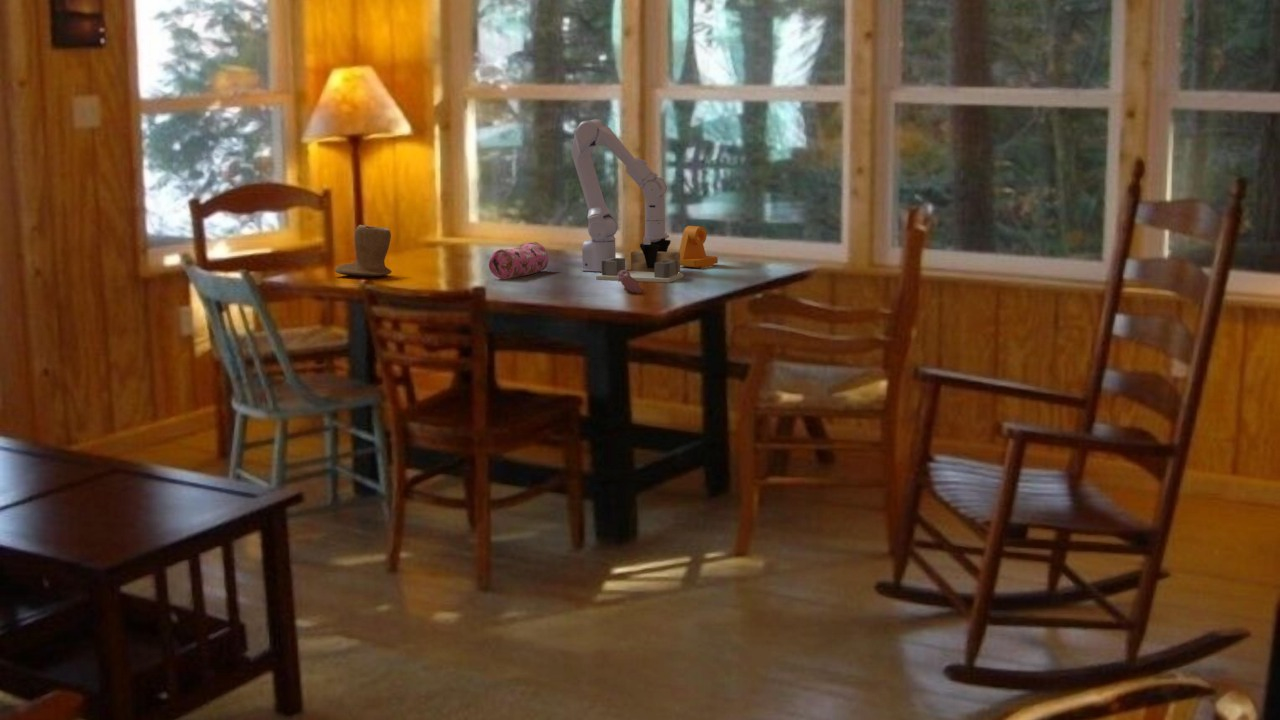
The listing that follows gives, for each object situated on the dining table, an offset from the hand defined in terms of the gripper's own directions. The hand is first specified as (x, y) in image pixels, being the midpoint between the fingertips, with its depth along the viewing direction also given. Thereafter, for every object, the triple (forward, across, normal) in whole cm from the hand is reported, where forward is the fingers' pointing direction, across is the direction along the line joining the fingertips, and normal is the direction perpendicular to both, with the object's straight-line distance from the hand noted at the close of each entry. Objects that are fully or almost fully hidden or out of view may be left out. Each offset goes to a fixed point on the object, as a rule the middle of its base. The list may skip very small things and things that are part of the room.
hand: (655, 266), depth 505 cm
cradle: (+2, -13, 0) cm, 13 cm away
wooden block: (+2, 0, 0) cm, 2 cm away
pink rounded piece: (+2, -37, -6) cm, 37 cm away
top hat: (+2, -31, +78) cm, 84 cm away
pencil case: (+2, -17, +36) cm, 40 cm away
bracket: (+2, +15, -8) cm, 17 cm away
